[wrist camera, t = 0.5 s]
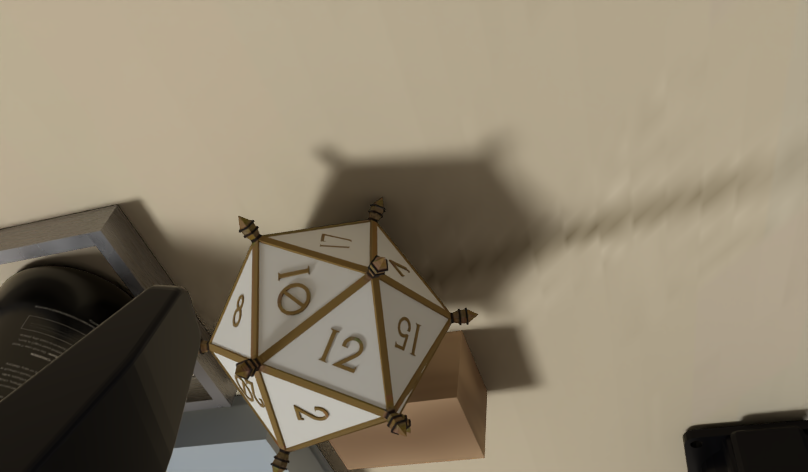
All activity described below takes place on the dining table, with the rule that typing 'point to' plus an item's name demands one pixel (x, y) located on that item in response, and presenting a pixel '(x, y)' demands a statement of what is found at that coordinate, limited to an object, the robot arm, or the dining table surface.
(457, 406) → the block
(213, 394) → the grey square frame
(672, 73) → the dining table surface
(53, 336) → the supplement bottle
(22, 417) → the robot arm
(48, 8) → the dining table surface
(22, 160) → the dining table surface
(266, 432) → the parts tray
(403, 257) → the game die
